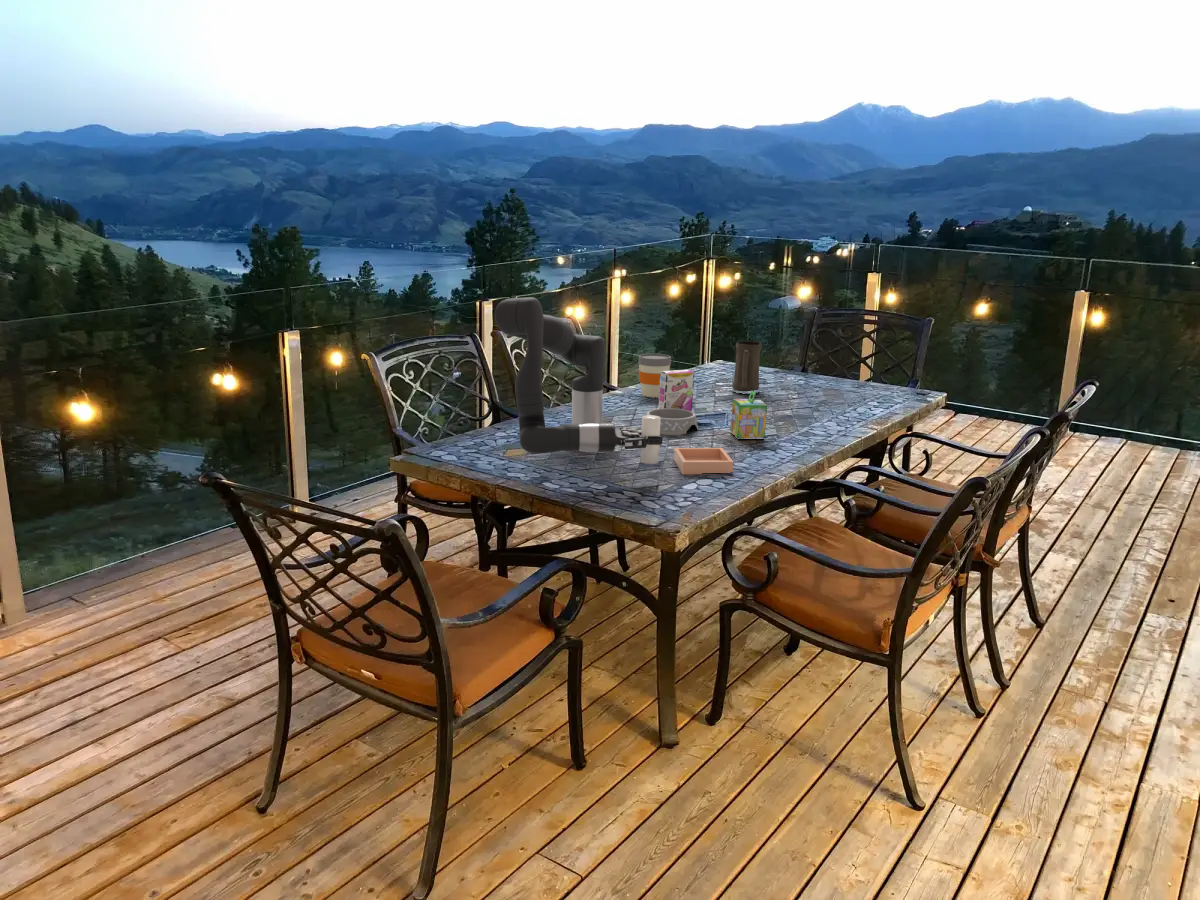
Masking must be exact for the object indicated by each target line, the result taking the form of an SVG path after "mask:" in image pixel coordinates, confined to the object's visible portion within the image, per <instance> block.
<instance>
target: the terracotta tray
mask: <svg viewBox="0 0 1200 900" xmlns="http://www.w3.org/2000/svg"><path fill="white" fill-rule="evenodd" d="M673 461H674V462H675V465H676V466H677V467H678V469H679V471H680V472H681V474H682V475H703V474H702V473H729V472H733V473H734V460H733V459H732V458H731V456H730V455H729V454H728V453H727V452H726V451H725V449H724V448H723V447H674V449H673Z"/></svg>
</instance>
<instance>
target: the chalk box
mask: <svg viewBox="0 0 1200 900" xmlns="http://www.w3.org/2000/svg"><path fill="white" fill-rule="evenodd" d="M756 395H757V394H756V393H755V392H754V391H752V390H751V393H750V395H749V396H748V398H733V399H732V407H731V418H730V427H729V429H730V430H729V432H730V431H731V432H732V433H733V434H734V435H735V436H736V437H737V438H751V437H765V436H766V424H767V411H768V404H766V402H764V401H763V400H762V399H759V398H756ZM765 438H766V437H765Z"/></svg>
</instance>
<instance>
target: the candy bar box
mask: <svg viewBox="0 0 1200 900" xmlns="http://www.w3.org/2000/svg"><path fill="white" fill-rule="evenodd" d="M694 385H695V371H693V370H690V369H677V370H675V369H674V370H669V371H660V384H659V397H658V407H657V409H661V408H677V409H685V410H689V411H692V412H693V400H694Z"/></svg>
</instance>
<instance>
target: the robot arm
mask: <svg viewBox="0 0 1200 900" xmlns="http://www.w3.org/2000/svg"><path fill="white" fill-rule="evenodd" d="M494 320H495V324H496V326H497V327H498V329H499V330H500V331H501V332H502V333H503V334H505V335H507V336H512V337H516V338H519V339H523V340H525V341H526V342H527V347H526V353H525V356H524V359H523V361H522V363H521V366H520V367H519V369H518V372H517V374H516V377H515V381H514V393H515V403H516V405H515V406H516V410H517V412H518V426H519V428H518V429H519V444H520V446H521V448H522V449H523V450H524V451H525V452H526V453H530V454H549V453H556V452H561V451H562V452H585V453H613V452H615V449H616V446H621V447H623V448H624V450H633V449H634V450H635V449H641V448H646V446H648V445H659V446H661V445H663V436H662V435H660V436H643V435H641V434H642V427H632V426H631V427H629V426H619V429H617V430H616V427H615V424H614V423H612V422H611V423H609V422H608V423H605V422H604V423H603V402H604V401H603V399H604V398H603V396H604V393H603V392H604V381H605V372H606V371H605V370H606V369H605V368H606V356H607V347H606V342H605V341H606V340H605V339H604V338H603V337H601V336H598V335H588V334H587V335H586V334H577V333H574V332H573V328H572V327H571V326H570V324H568V323H567V322H565V321H564V320H562V319H560V318H558V317H556V316H553V315H549V314H544V312H543V307H542V304H541V302H540V301H539V300H538V299H537V298H536V297H531V296H530V297H514V298H513V297H512V298H511V297H510V298H505V299H503V300H501V301H500V302H498V304H497V306H496V307H495V310H494ZM544 350H545V351H547V352H550V353H551V354H555V355H558V356H561V357H562V358H563V359H565V361H567V362H569V363H570V364H572V365H574V366H577V367H578V366H579V367H587V368H588V371H587V373H586V374H584V375H582V376H578V377H575V378H573V379H572V381H571V385H572V386H571V423H567V424H559V425H558V426H548V427H546V422H545V416H544V415H545V414H544V410H545V407H544V405H545V404H544V403H545V402H544V392H543V382H542V369H543V368H542V367H543V365H542V364H543V351H544ZM641 441H642V443H641Z"/></svg>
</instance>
